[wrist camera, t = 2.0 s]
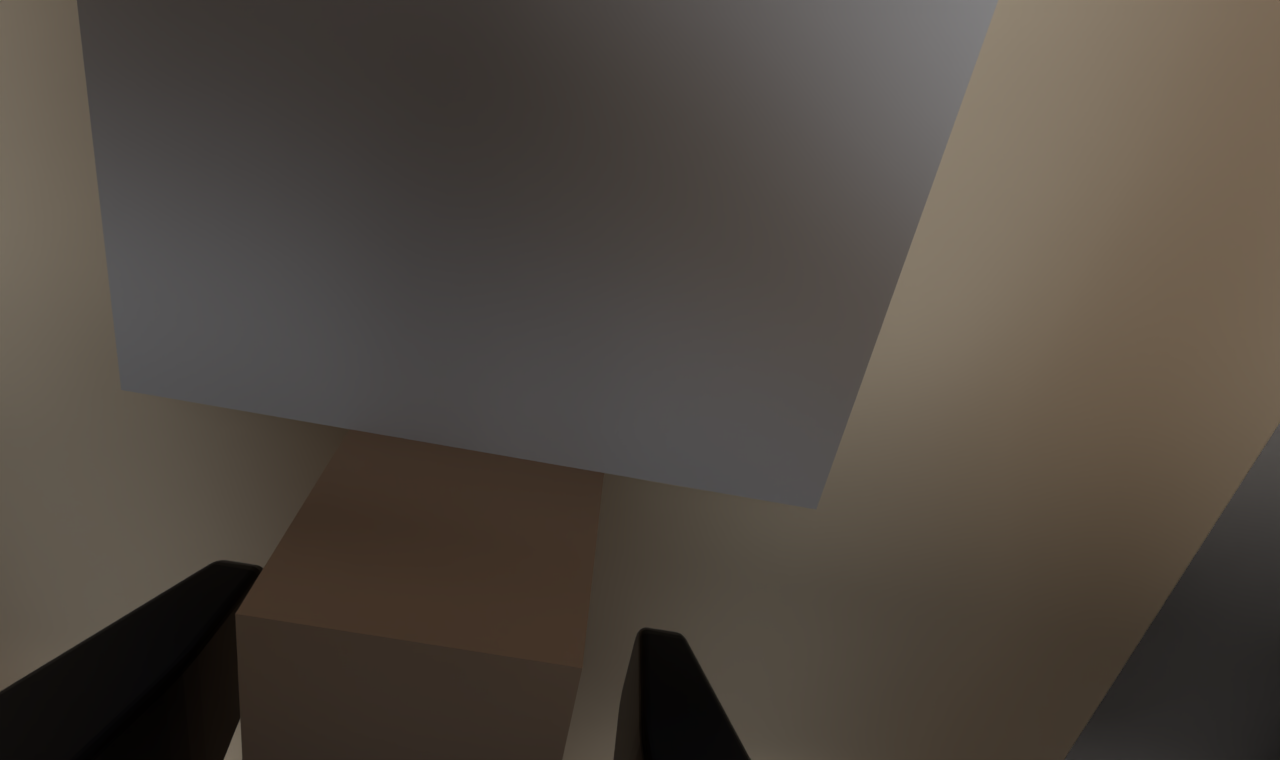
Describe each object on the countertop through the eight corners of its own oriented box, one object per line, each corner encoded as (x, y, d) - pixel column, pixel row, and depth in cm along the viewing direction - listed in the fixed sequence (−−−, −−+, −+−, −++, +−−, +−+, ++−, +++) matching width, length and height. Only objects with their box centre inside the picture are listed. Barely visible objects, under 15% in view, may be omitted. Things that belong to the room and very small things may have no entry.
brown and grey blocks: (659, 899, 11) (658, 1169, 9) (200, 836, 11) (65, 1101, 9) (1014, -135, 6) (1275, -178, 3) (96, -344, 5) (-394, -571, 3)
